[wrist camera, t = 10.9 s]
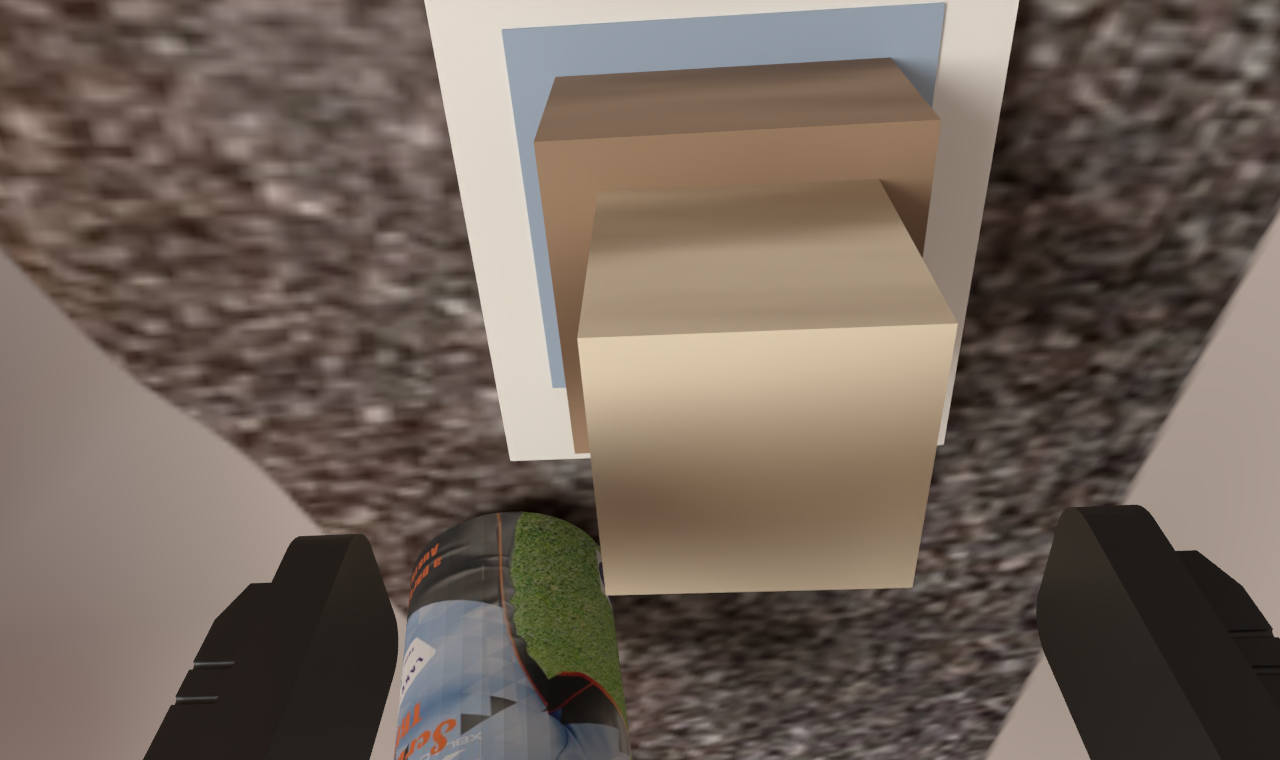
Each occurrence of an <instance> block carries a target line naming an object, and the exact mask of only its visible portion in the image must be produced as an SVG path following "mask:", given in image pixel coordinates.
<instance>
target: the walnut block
mask: <svg viewBox="0 0 1280 760" xmlns="http://www.w3.org/2000/svg"><path fill="white" fill-rule="evenodd" d="M940 124H941V119H940V118H939V116H938V115H937V114H936V113H935V112H934V110H933V109H932V108H931V107H930V105H929V104H928V103H927V102H926V101H925V99H924V98H923V97H922V96H921V95H920V93H919V92H918V91H917V90H916V88H915V87H914V86H913V85H912V84H911V82H910V81H909V80H908V79H907V77H906V76H905V75H904V74H903V73H902V71H901V70H900V69H899V68H898V67H897V65H896V64H895V63H894V62H893V60H892V59H891V58H890V57H889V58H871V59H854V60H837V61H820V62H803V63H786V64H768V65H751V66H734V67H717V68H700V69H682V70H665V71H648V72H631V73H614V74H596V75H579V76H562V77H555V79H554V82H553V85H552V88H551V91H550V94H549V97H548V100H547V103H546V106H545V109H544V112H543V115H542V118H541V121H540V124H539V127H538V130H537V133H536V136H535V139H534V149H535V156H536V164H537V172H538V179H539V187H540V194H541V202H542V209H543V217H544V224H545V232H546V239H547V247H548V255H549V262H550V270H551V277H552V285H553V292H554V300H555V307H556V315H557V323H558V330H559V338H560V345H561V353H562V360H563V368H564V375H565V383H566V390H567V398H568V406H569V413H570V421H571V428H572V436H573V443H574V451H575V454H580V453H590V448H589V439H588V430H587V422H586V413H585V404H584V395H583V386H582V377H581V368H580V359H579V350H578V341H577V336H578V329H579V322H580V315H581V308H582V301H583V294H584V286H585V279H586V272H587V265H588V258H589V251H590V244H591V237H592V230H593V223H594V216H595V209H596V202H597V195H598V192H601V191H623V190H645V189H667V188H688V187H710V186H732V185H754V184H776V183H798V182H820V181H842V180H863V179H879V180H880V182H881V184H882V186H883V188H884V189H885V191H886V193H887V195H888V197H889V198H890V200H891V202H892V204H893V206H894V208H895V209H896V211H897V213H898V215H899V217H900V219H901V220H902V222H903V224H904V226H905V228H906V230H907V231H908V233H909V235H910V237H911V239H912V241H913V242H914V244H915V246H916V248H917V250H918V251H919V253H920V255H921V257H922V259H923V252H924V245H925V237H926V230H927V222H928V215H929V207H930V199H931V192H932V184H933V177H934V169H935V162H936V154H937V147H938V139H939V132H940Z"/></svg>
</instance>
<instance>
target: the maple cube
mask: <svg viewBox="0 0 1280 760" xmlns="http://www.w3.org/2000/svg"><path fill="white" fill-rule="evenodd" d="M957 326H958V323H957V321H956V319H955V317H954V315H953V314H952V312H951V310H950V308H949V306H948V304H947V303H946V301H945V299H944V297H943V295H942V293H941V292H940V290H939V288H938V286H937V284H936V283H935V281H934V279H933V277H932V275H931V273H930V272H929V270H928V268H927V266H926V264H925V262H924V261H923V259H922V257H921V255H920V253H919V251H918V250H917V248H916V246H915V244H914V242H913V241H912V239H911V237H910V235H909V233H908V231H907V230H906V228H905V226H904V224H903V222H902V220H901V219H900V217H899V215H898V213H897V211H896V209H895V208H894V206H893V204H892V202H891V200H890V198H889V197H888V195H887V193H886V191H885V189H884V188H883V186H882V184H881V182H880V180H879V179H863V180H842V181H820V182H798V183H776V184H754V185H732V186H710V187H688V188H667V189H645V190H623V191H601V192H598V195H597V202H596V209H595V216H594V223H593V230H592V237H591V244H590V251H589V258H588V265H587V272H586V279H585V286H584V294H583V301H582V308H581V315H580V322H579V329H578V336H577V341H578V350H579V359H580V368H581V377H582V386H583V395H584V404H585V413H586V422H587V430H588V439H589V448H590V457H591V466H592V475H593V484H594V493H595V502H596V511H597V520H598V529H599V538H600V547H601V556H602V565H603V574H604V583H605V592H606V595H645V594H684V593H724V592H763V591H802V590H841V589H881V588H912V586H913V580H914V575H915V569H916V563H917V557H918V551H919V546H920V540H921V534H922V528H923V523H924V517H925V511H926V505H927V499H928V494H929V488H930V482H931V476H932V471H933V465H934V459H935V453H936V447H937V442H938V436H939V430H940V424H941V419H942V413H943V407H944V401H945V395H946V390H947V384H948V378H949V372H950V367H951V361H952V355H953V349H954V344H955V338H956V332H957Z"/></svg>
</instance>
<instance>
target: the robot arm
mask: <svg viewBox="0 0 1280 760" xmlns="http://www.w3.org/2000/svg"><path fill="white" fill-rule="evenodd" d="M1036 613H1037V626H1038V632H1039V637H1040V641H1041V644H1042V648H1043V651H1044V653H1045V656H1046V658H1047V660H1048V663H1049V665H1050V667H1051V669H1052V672H1053V674H1054V676H1055V679H1056V681H1057V683H1058V686H1059V687H1060V690H1061V692H1062V694H1063V697H1064V699H1065V702H1066V704H1067V706H1068V708H1069V711H1070V713H1071V715H1072V718H1073V720H1074V722H1075V724H1076V727H1077V729H1078V732H1079V734H1080V736H1081V738H1082V741H1083V743H1084V745H1085V748H1086V750H1087V752H1088V754H1089V757H1090V759H1091V760H1280V638H1278V637H1277V638H1275V637H1274V636H1273V633H1272V627H1271V626H1270V624H1269V623H1268V622H1267V620H1266V619H1265V617H1264V616H1263V614H1262V613H1261V612H1260V611H1259V609H1258V607H1257V606H1256V605H1255V603H1254V602H1253V600H1252V599H1251V598H1250V596H1249V595H1248V593H1247V592H1246V591H1245V589H1244V588H1243V586H1241V585H1240V584H1239V583H1238V582H1236V581H1235V580H1234V579H1233V578H1231V577H1230V576H1229V575H1227V574H1226V573H1225V572H1223V571H1222V570H1221V569H1220V568H1218V567H1217V566H1216V565H1215V564H1213V563H1212V562H1211V561H1210V560H1208V559H1207V558H1206V557H1205V556H1203V555H1202V554H1201V553H1199V552H1198V551H1196V550H1193V551H1175V550H1174V548H1173V547H1172V545H1171V544H1170V542H1169V541H1168V539H1167V538H1166V536H1165V535H1164V533H1163V532H1162V530H1161V529H1160V527H1159V526H1158V524H1157V523H1156V521H1155V520H1154V518H1153V517H1152V515H1151V514H1150V513H1149V512H1148V511H1147V510H1146V509H1145V508H1143V507H1142V506H1139V505H1119V506H1095V507H1071V508H1067V509H1065V510H1064V511H1063V513H1062V514H1061V516H1060V519H1059V522H1058V525H1057V529H1056V533H1055V536H1054V540H1053V543H1052V547H1051V551H1050V554H1049V558H1048V561H1047V565H1046V569H1045V572H1044V576H1043V579H1042V583H1041V587H1040V590H1039V594H1038V599H1037V611H1036ZM397 655H398V629H397V622H396V618H395V614H394V612H393V609H392V606H391V603H390V600H389V597H388V594H387V591H386V588H385V585H384V583H383V580H382V577H381V574H380V571H379V568H378V565H377V562H376V559H375V556H374V554H373V551H372V548H371V545H370V543H369V541H368V539H367V538H366V537H365V536H364V535H363V534H345V535H321V536H299V537H297V538H295V539H294V540H293V541H292V542H291V544H290V545H289V547H288V549H287V551H286V553H285V555H284V557H283V560H282V561H281V564H280V566H279V568H278V570H277V572H276V574H275V576H274V579H273V581H272V583H253V584H252V583H251V584H250V585H249V586H248V587H247V588H246V589H245V590H244V591H243V592H242V593H241V594H240V595H239V596H238V597H237V598H236V599H235V600H234V601H233V602H232V603H231V604H230V605H229V606H228V607H227V608H226V609H225V610H224V611H223V612H222V613H221V614H220V615H219V616H218V617H217V618H216V619H215V621H214V623H213V624H212V626H211V628H210V630H209V633H208V634H207V636H206V638H205V640H204V642H203V644H202V646H201V648H200V650H199V652H198V654H197V656H196V658H195V660H194V668H193V670H189V671H188V673H187V675H186V677H185V679H184V681H183V683H182V685H181V687H180V689H179V691H178V693H177V695H176V703H175V705H171V706H170V708H169V710H168V712H167V714H166V716H165V718H164V720H163V722H162V724H161V726H160V728H159V730H158V732H157V734H156V735H155V737H154V739H153V741H152V743H151V745H150V747H149V749H148V751H147V753H146V755H145V757H144V759H143V760H369V759H370V756H371V752H372V749H373V745H374V742H375V738H376V735H377V732H378V728H379V725H380V721H381V718H382V714H383V710H384V707H385V704H386V700H387V696H388V693H389V690H390V686H391V683H392V679H393V676H394V672H395V668H396V663H397Z"/></svg>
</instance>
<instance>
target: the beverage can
mask: <svg viewBox="0 0 1280 760" xmlns="http://www.w3.org/2000/svg"><path fill="white" fill-rule="evenodd" d="M394 760H632V755H631V747H630V739H629V732H628V724H627V716H626V708H625V701H624V693H623V685H622V677H621V670H620V662H619V654H618V646H617V639H616V631H615V623H614V616H613V608H612V600H611V595H606V592H605V583H604V574H603V565H602V556H601V549H600V547H599V546H598V545H597V544H596V542H595V541H594V540H593V539H592V538H591V537H590V536H589V535H588V534H586V533H585V532H584V531H583V530H582V529H580V528H578V527H576V526H575V525H573V524H571V523H569V522H567V521H564V520H561V519H559V518H556V517H553V516H549V515H544V514H540V513H532V512H522V511H516V512H498V513H492V514H485V515H481V516H478V517H474V518H471V519H467V520H465V521H463V522H461V523H458V524H456V525H454V526H452V527H450V528H448V529H447V530H445V531H444V532H442V533H440V534H439V535H438V536H436V537H435V538H434V539H433V540H432V541H431V542H430V543H428V544H427V545H426V547H425V548H424V549H423V551H422V552H421V553H420V555H419V556H418V558H417V560H416V563H415V565H414V567H413V571H412V577H411V585H410V596H409V606H408V617H407V627H406V638H405V649H404V658H403V670H402V680H401V690H400V701H399V711H398V722H397V732H396V742H395V754H394Z"/></svg>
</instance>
